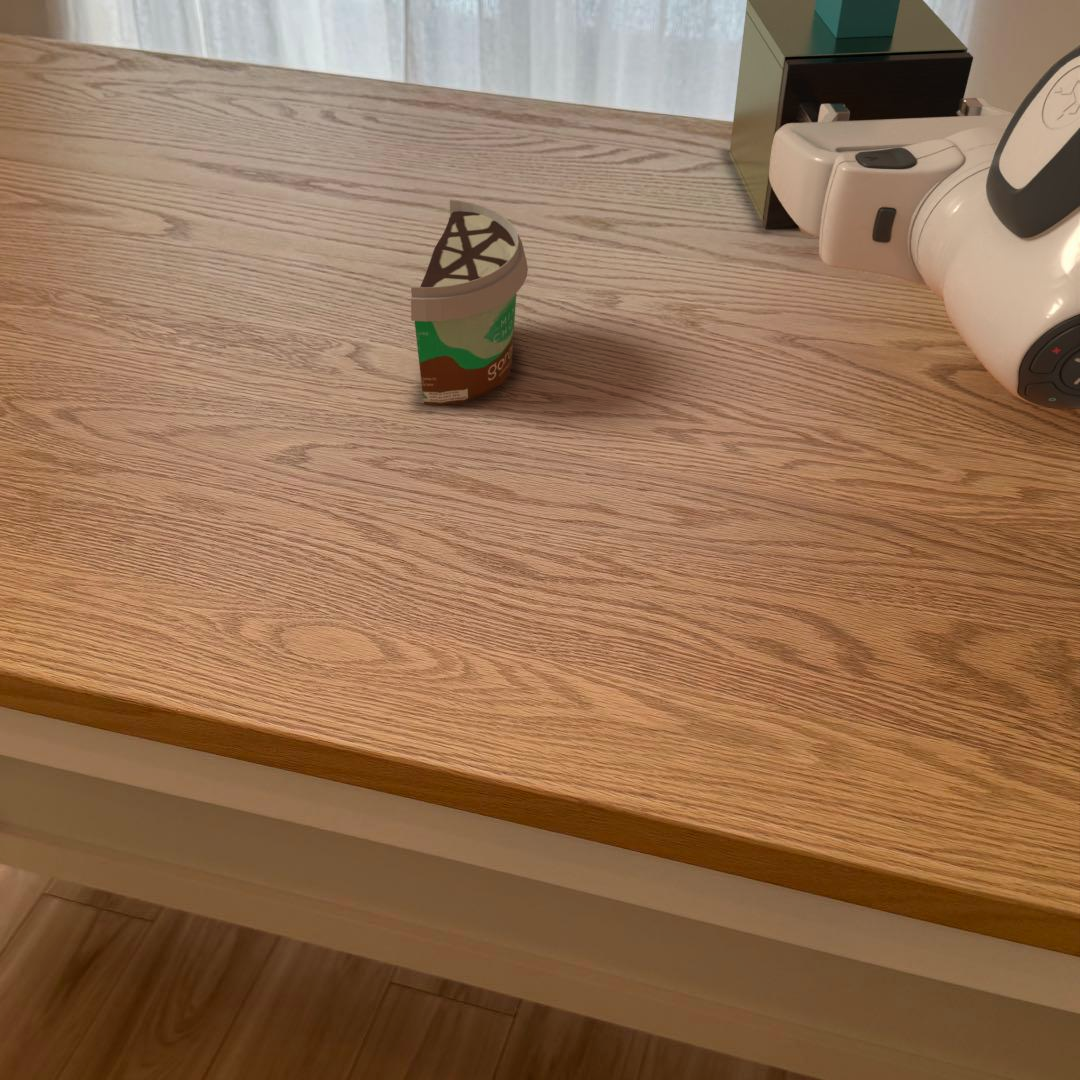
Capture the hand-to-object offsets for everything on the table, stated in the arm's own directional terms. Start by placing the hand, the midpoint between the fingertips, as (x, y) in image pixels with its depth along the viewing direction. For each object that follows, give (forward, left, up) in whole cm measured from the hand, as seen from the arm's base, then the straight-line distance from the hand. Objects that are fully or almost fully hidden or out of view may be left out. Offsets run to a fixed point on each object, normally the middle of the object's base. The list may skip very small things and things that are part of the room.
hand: (898, 111), depth 82 cm
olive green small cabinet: (-3, -18, -15) cm, 24 cm away
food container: (+28, +6, -15) cm, 33 cm away
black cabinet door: (-2, -8, -15) cm, 17 cm away
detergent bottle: (-3, -18, -1) cm, 18 cm away
